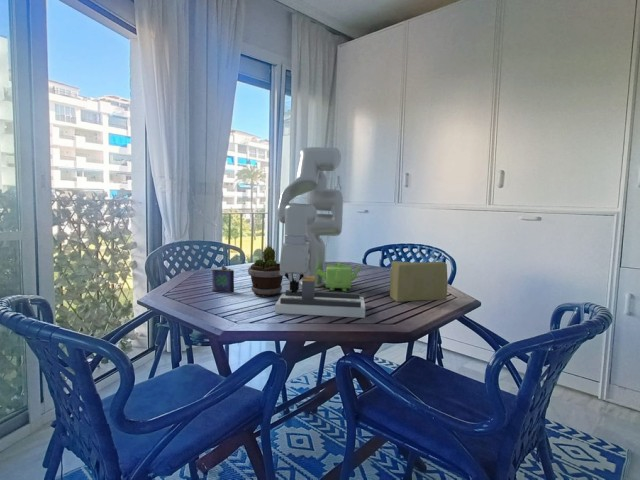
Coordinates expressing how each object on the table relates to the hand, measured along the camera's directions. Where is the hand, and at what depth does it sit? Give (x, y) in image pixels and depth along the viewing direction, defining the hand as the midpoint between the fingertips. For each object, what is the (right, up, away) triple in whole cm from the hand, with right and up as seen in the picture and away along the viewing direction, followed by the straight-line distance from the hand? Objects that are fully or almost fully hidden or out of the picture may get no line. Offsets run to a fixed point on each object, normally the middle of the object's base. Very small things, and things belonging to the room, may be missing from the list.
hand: (294, 292), depth 135 cm
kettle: (+17, -3, +30) cm, 35 cm away
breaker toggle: (+5, -2, 0) cm, 6 cm away
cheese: (+49, -5, +18) cm, 52 cm away
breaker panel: (+9, -6, 0) cm, 11 cm away
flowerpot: (-12, -3, +18) cm, 22 cm away
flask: (-30, -3, +21) cm, 37 cm away
